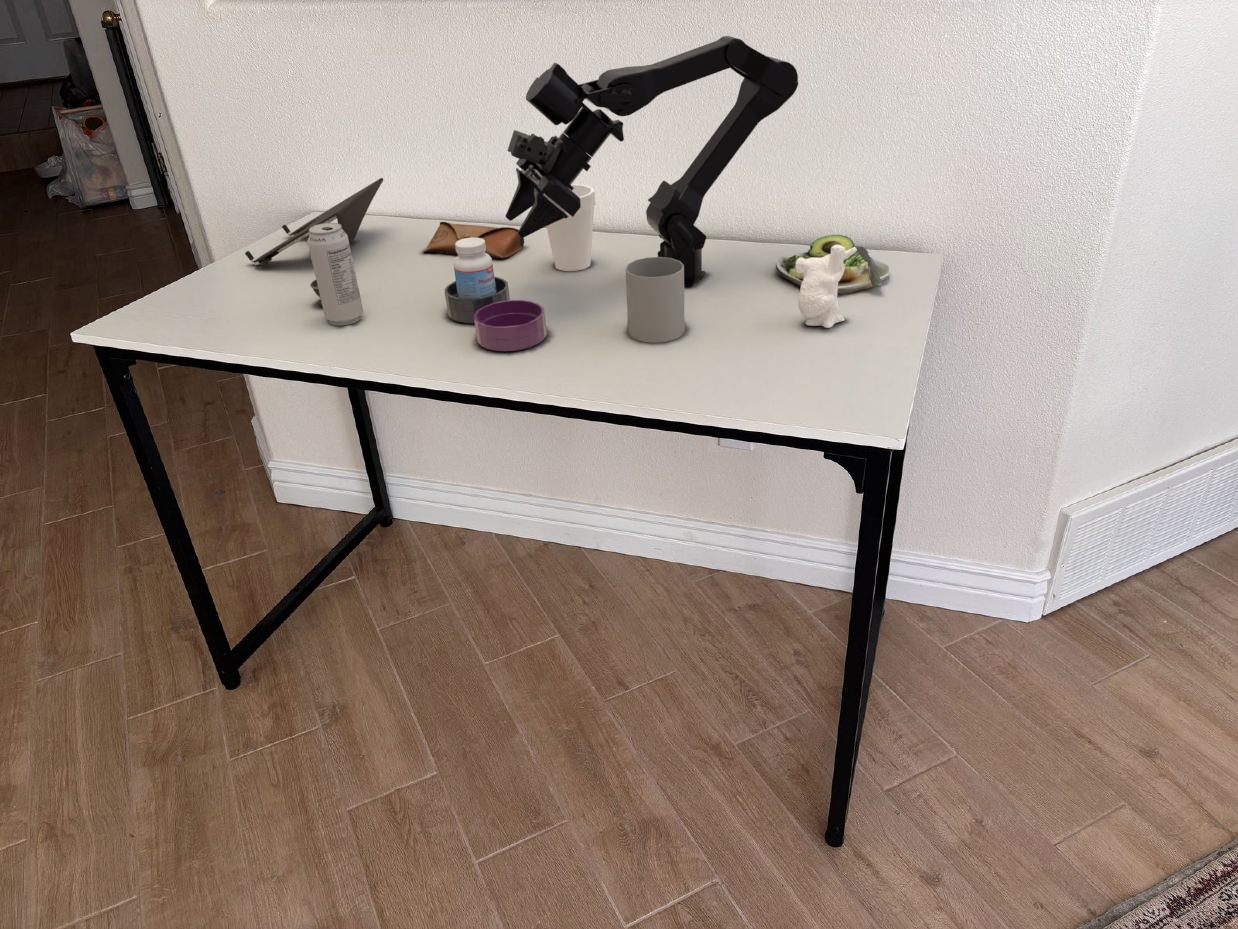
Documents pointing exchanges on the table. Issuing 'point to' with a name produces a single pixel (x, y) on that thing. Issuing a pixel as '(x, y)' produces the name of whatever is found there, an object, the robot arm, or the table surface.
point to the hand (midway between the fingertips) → (513, 227)
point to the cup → (655, 299)
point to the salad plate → (857, 266)
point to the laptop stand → (344, 212)
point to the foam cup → (574, 233)
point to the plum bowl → (510, 325)
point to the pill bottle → (473, 269)
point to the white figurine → (822, 286)
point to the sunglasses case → (496, 239)
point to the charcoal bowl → (472, 301)
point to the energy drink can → (335, 273)
